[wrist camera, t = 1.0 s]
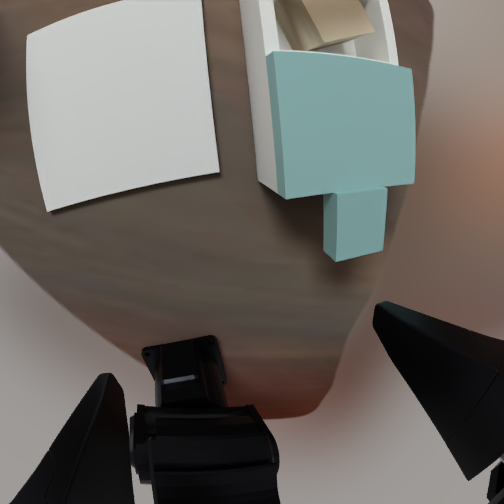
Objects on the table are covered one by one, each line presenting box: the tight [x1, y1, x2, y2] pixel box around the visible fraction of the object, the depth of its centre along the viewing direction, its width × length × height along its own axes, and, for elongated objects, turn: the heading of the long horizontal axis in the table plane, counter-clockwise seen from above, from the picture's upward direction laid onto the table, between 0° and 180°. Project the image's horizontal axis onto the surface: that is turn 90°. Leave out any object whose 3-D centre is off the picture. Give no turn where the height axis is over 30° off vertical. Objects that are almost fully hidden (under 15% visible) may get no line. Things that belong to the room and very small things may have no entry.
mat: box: [26, 0, 220, 212], centre depth 14 cm, size 13×12×1 cm
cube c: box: [274, 0, 375, 51], centre depth 13 cm, size 4×4×4 cm
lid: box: [265, 51, 415, 262], centre depth 15 cm, size 12×9×2 cm
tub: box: [239, 0, 399, 194], centre depth 14 cm, size 15×9×4 cm, turn 6°
